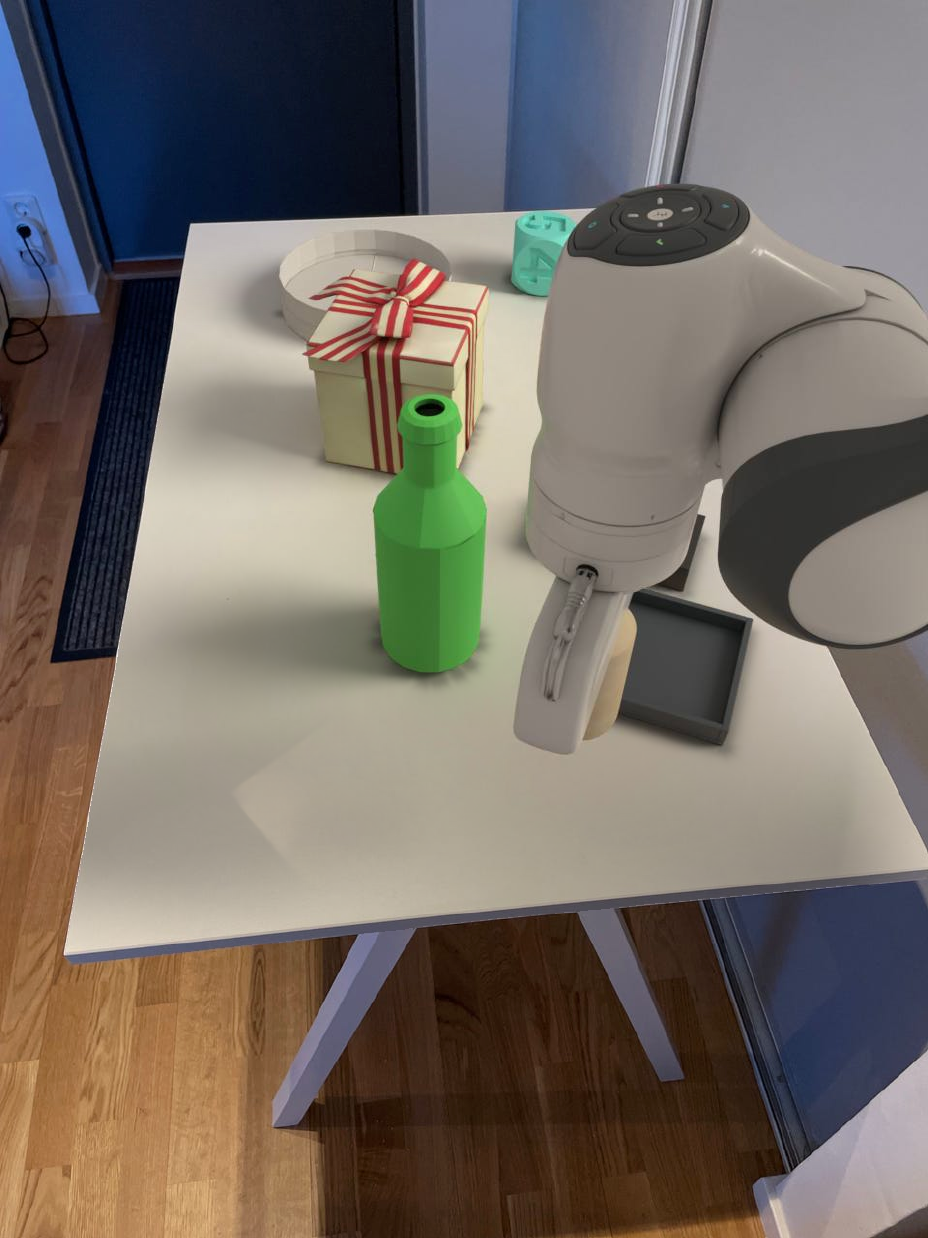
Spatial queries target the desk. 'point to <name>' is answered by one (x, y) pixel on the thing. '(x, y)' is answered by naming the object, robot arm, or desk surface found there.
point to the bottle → (430, 544)
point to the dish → (344, 268)
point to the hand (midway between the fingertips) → (582, 673)
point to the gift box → (394, 359)
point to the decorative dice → (538, 249)
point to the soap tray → (684, 665)
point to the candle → (613, 681)
